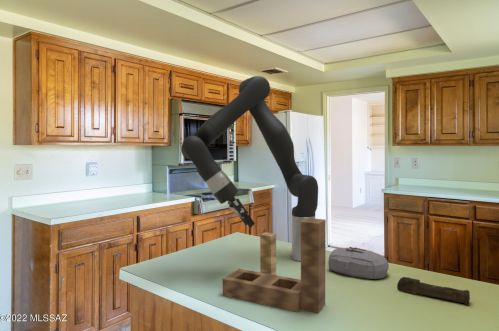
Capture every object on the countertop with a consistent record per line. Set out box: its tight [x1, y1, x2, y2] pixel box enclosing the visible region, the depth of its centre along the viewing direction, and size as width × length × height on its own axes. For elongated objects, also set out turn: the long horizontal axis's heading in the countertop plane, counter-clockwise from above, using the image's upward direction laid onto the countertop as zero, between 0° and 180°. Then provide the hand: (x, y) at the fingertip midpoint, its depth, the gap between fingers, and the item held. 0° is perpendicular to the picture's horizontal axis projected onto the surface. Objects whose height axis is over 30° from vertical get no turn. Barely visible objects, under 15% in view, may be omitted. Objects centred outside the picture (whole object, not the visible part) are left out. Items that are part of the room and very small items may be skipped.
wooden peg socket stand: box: [222, 218, 327, 314], centre depth 104 cm, size 29×10×24 cm, turn 61°
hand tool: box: [396, 276, 471, 307], centre depth 105 cm, size 19×4×5 cm, turn 54°
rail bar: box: [259, 232, 277, 275], centre depth 120 cm, size 4×4×15 cm
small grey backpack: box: [327, 246, 390, 280], centre depth 126 cm, size 15×8×20 cm
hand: (250, 224), depth 121 cm, fingers open, 8 cm apart
